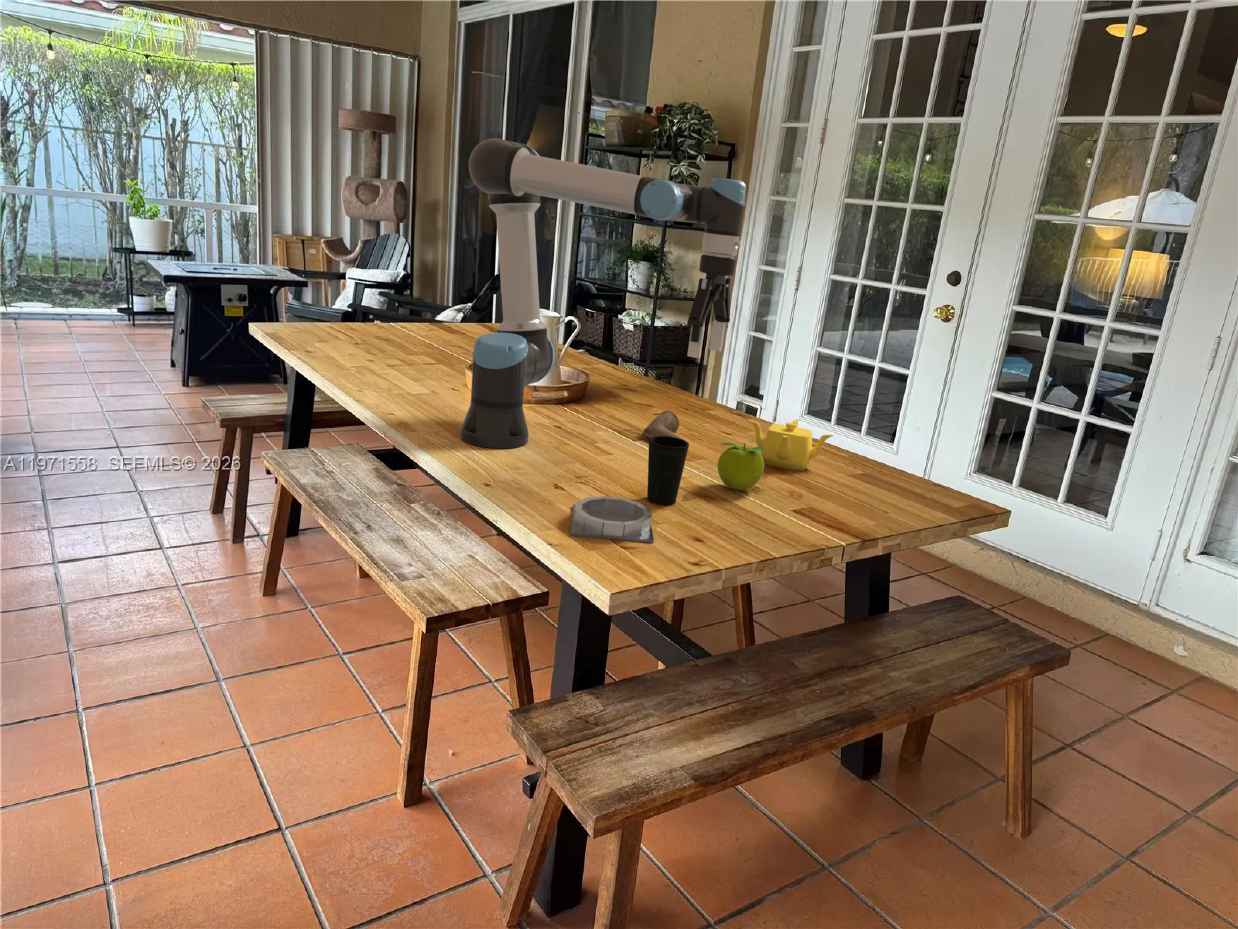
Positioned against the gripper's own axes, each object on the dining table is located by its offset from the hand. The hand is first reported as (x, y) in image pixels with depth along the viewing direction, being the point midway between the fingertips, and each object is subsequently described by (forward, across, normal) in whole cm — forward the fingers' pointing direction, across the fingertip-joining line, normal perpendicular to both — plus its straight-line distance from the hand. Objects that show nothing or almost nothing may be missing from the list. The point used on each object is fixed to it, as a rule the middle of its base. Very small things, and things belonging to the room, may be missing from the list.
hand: (704, 353), depth 185 cm
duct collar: (+24, -49, -4) cm, 55 cm away
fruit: (+25, -12, -16) cm, 32 cm away
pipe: (+25, +11, +10) cm, 29 cm away
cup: (+25, -31, -6) cm, 40 cm away
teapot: (+25, +15, -18) cm, 34 cm away
